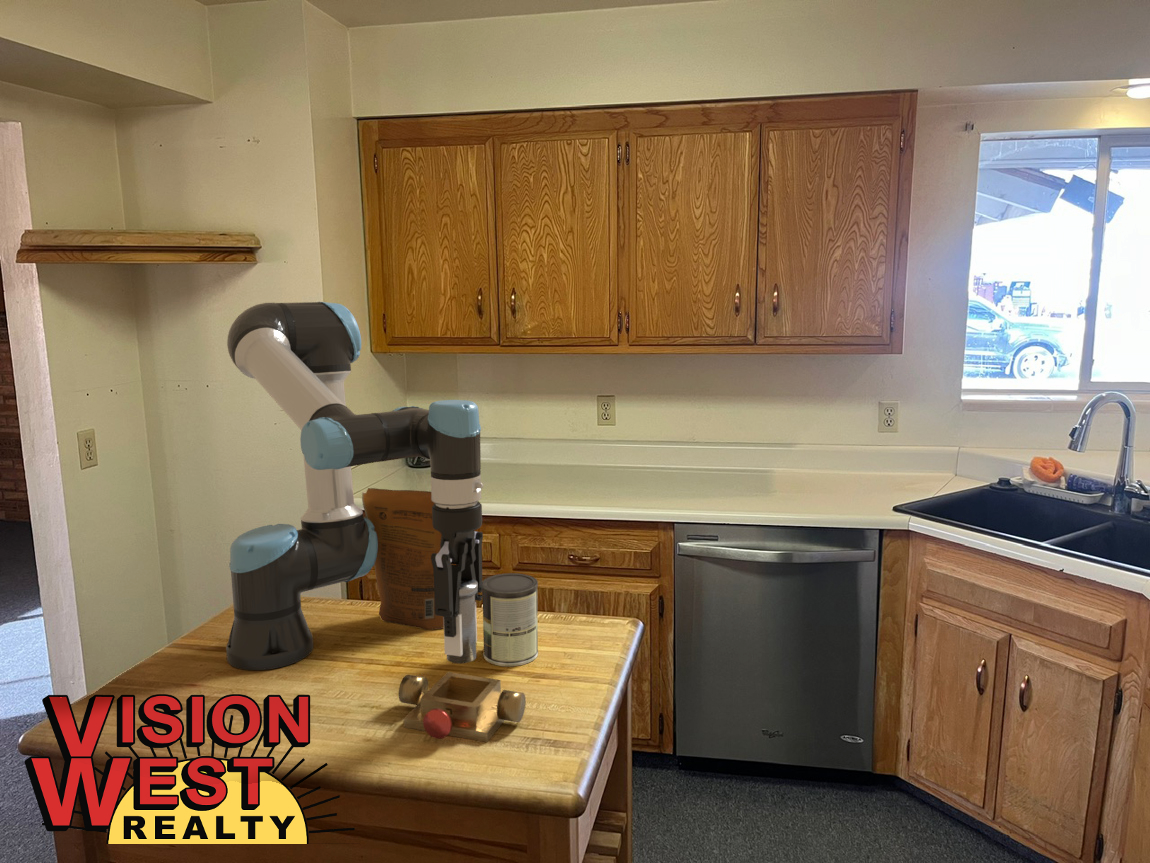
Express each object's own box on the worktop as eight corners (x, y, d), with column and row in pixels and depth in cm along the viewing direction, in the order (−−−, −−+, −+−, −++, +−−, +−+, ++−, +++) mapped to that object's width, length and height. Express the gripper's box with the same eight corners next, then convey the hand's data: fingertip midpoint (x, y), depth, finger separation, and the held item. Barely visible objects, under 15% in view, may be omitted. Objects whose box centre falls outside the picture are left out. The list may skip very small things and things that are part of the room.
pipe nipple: (437, 662, 126) (434, 588, 124) (453, 647, 131) (451, 576, 129) (470, 667, 124) (468, 591, 122) (485, 652, 129) (483, 579, 127)
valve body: (378, 732, 124) (376, 701, 123) (423, 689, 138) (422, 660, 137) (499, 754, 118) (498, 721, 117) (534, 707, 132) (533, 677, 131)
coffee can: (471, 656, 150) (469, 583, 148) (510, 638, 158) (509, 569, 156) (511, 672, 144) (510, 596, 142) (549, 652, 152) (549, 580, 150)
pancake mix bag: (440, 636, 158) (441, 496, 155) (360, 620, 166) (359, 486, 162) (458, 625, 165) (459, 489, 161) (380, 610, 172) (379, 480, 168)
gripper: (453, 519, 114) (458, 675, 118) (502, 491, 131) (505, 628, 134) (405, 515, 116) (412, 668, 120) (459, 488, 133) (463, 623, 137)
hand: (461, 647), depth 127 cm, fingers closed on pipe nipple, 5 cm apart
